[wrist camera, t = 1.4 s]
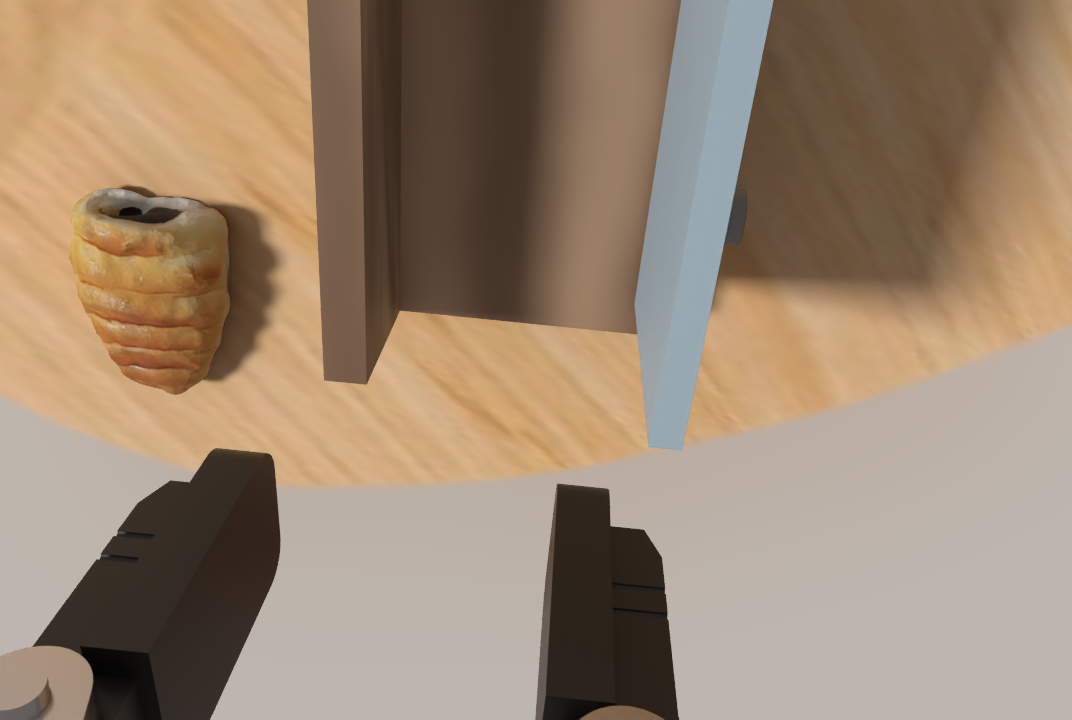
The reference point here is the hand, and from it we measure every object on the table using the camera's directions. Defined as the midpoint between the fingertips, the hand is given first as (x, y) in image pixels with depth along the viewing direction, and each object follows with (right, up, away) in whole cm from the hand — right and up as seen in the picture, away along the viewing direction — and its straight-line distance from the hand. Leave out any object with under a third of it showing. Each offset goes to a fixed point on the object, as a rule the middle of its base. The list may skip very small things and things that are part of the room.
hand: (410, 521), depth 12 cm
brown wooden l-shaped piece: (+1, +12, +22) cm, 25 cm away
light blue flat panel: (+7, +10, +19) cm, 23 cm away
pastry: (-15, +6, +27) cm, 31 cm away
